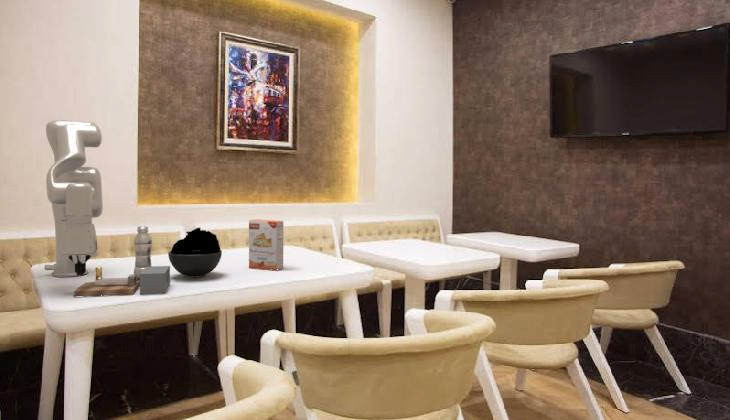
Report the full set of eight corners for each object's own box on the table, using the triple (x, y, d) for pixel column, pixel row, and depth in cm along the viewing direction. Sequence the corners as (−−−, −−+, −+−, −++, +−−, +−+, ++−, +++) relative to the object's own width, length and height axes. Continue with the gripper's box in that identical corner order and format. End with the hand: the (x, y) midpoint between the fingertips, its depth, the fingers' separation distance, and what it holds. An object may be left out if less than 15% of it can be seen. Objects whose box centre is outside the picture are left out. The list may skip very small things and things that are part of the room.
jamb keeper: (139, 294, 177) (139, 273, 177) (146, 285, 191) (146, 266, 190) (165, 293, 179) (165, 273, 179) (170, 284, 193) (169, 265, 192)
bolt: (95, 284, 179) (94, 268, 179) (96, 283, 182) (96, 267, 181) (133, 283, 182) (133, 267, 182) (134, 282, 184) (134, 266, 184)
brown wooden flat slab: (73, 297, 173) (73, 281, 172) (85, 287, 186) (85, 273, 186) (133, 294, 177) (133, 279, 177) (140, 286, 190) (140, 271, 190)
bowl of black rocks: (202, 283, 196) (202, 233, 195) (157, 279, 202) (156, 230, 200) (231, 273, 215) (231, 227, 214) (189, 270, 221) (188, 225, 219)
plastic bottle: (137, 277, 206) (136, 225, 204) (155, 277, 206) (154, 226, 205) (131, 280, 199) (130, 227, 198) (149, 280, 200) (149, 227, 198)
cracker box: (248, 268, 228) (248, 219, 226) (256, 266, 233) (256, 218, 232) (276, 271, 222) (276, 221, 221) (283, 268, 228) (283, 220, 226)
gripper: (50, 221, 172) (52, 277, 174) (100, 221, 176) (102, 276, 177) (58, 219, 180) (59, 273, 181) (106, 219, 183) (107, 271, 184)
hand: (80, 274), depth 179 cm, fingers closed
